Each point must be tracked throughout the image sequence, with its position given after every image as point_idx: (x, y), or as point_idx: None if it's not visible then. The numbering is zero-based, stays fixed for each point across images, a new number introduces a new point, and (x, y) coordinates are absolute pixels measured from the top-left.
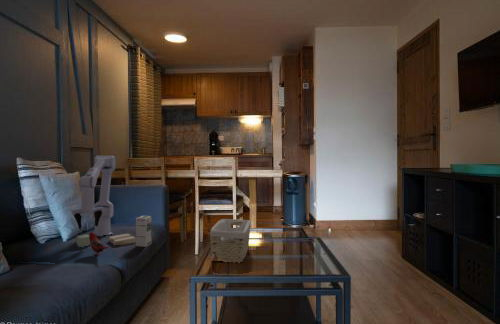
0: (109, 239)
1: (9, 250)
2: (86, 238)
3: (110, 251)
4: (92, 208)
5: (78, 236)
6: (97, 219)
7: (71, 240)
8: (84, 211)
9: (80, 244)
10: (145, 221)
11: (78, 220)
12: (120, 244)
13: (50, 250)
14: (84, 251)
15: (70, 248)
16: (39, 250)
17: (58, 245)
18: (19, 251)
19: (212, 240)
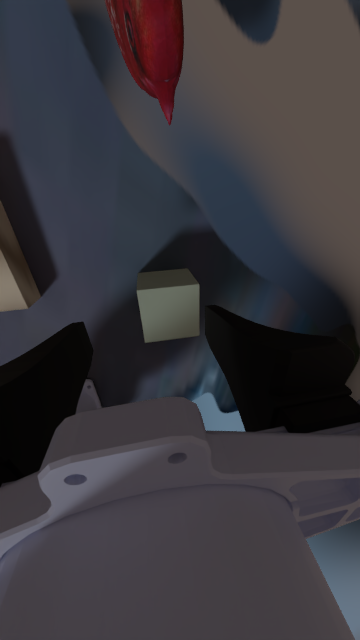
0: (32, 295)
1: (356, 355)
2: (159, 285)
3: (22, 52)
4: (25, 587)
5: (195, 318)
6: (43, 353)
7: (191, 376)
8: (269, 442)
9: (186, 273)
10: None
11: (272, 328)
12: None
13: (284, 297)
14: (180, 190)
15: (221, 282)
16: (307, 316)
17: None
18: (347, 334)
19: None
